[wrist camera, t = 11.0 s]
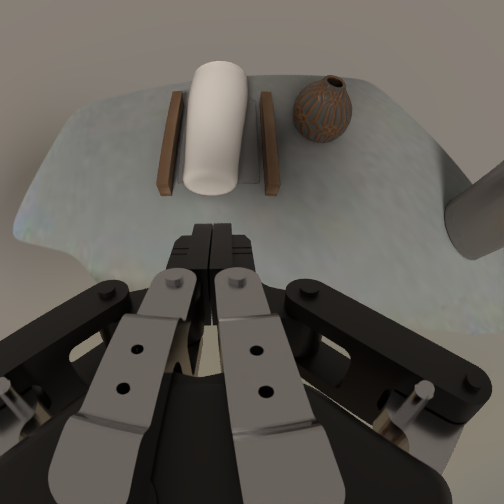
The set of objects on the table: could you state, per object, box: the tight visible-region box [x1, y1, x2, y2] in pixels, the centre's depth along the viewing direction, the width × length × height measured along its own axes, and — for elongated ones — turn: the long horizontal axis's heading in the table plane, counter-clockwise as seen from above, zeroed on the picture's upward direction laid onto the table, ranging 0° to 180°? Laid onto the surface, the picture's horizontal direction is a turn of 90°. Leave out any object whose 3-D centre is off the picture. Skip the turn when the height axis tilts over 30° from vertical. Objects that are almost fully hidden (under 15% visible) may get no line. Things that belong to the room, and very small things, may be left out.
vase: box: [293, 75, 352, 143], centre depth 30 cm, size 7×7×9 cm
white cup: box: [183, 61, 248, 195], centre depth 29 cm, size 7×7×15 cm
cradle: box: [156, 91, 280, 196], centre depth 31 cm, size 12×14×2 cm
